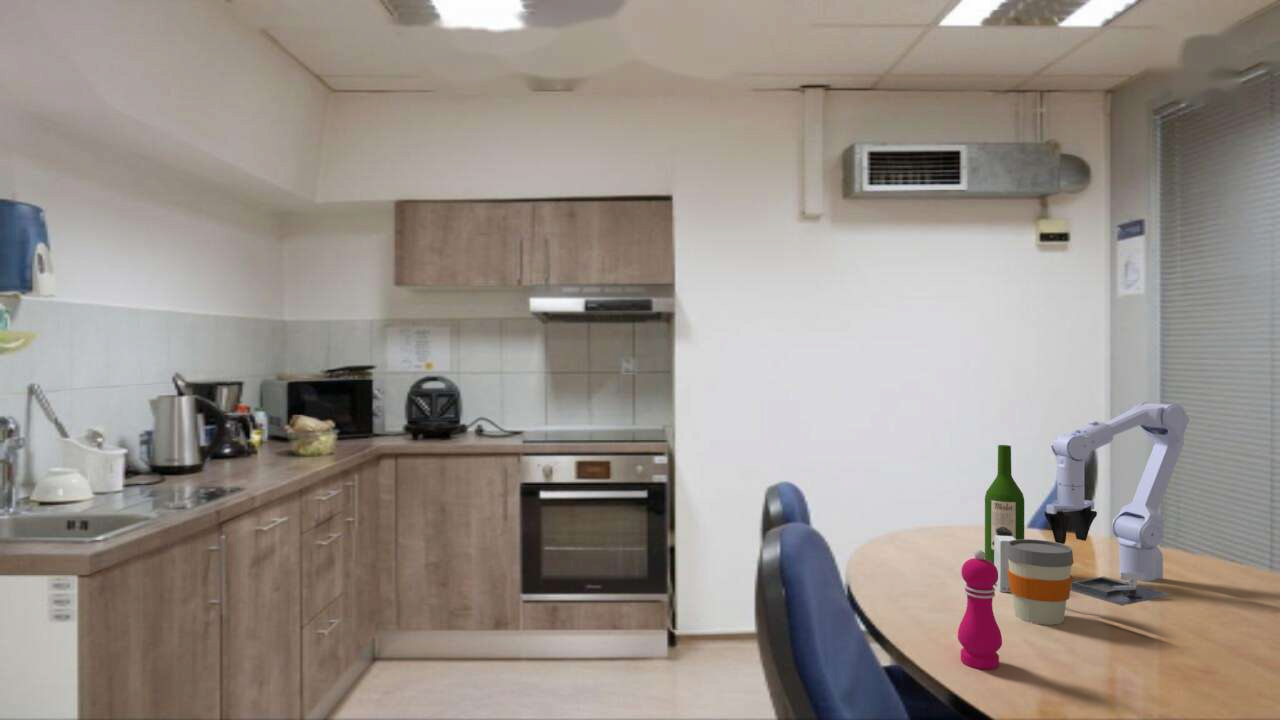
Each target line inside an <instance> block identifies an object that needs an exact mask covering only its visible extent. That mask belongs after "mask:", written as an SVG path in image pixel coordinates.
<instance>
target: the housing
mask: <svg viewBox="0 0 1280 720" xmlns="http://www.w3.org/2000/svg"><path fill="white" fill-rule="evenodd" d="M1122 585H1129V582H1127V581H1124V580H1123V581H1122V580H1118V579H1115V578H1111V577H1108V576H1098V577H1093V578H1087V579H1082V580H1076V581H1072V582H1071V589H1070V592H1074V593H1077V594H1081V595H1084V596H1087V597H1091V598H1094V599H1098V600H1100V601H1101V600H1102V601H1105V602H1108V603H1110V604H1114V605H1118V606H1126V605H1131V604H1137V603H1140V602H1146V601H1150V600H1157V599H1161V598H1166V597H1170V596H1173V594H1172V593H1168V592H1165V591H1161V590H1157V589H1153V588H1150V587H1145V586H1142V585H1138V584H1137V594H1130V593H1129V590H1115V589H1112V586H1122Z"/></svg>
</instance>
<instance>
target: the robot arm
mask: <svg viewBox="0 0 1280 720" xmlns="http://www.w3.org/2000/svg"><path fill="white" fill-rule="evenodd" d="M1189 422H1190V418H1189V416H1188V414H1187V412H1186V410H1185V409H1184V407H1183V406H1181V405H1180V404H1179V403H1178V404H1177V403H1170V404H1169V403H1168V404H1167V403H1155V402H1149V401H1143V402H1141V403H1139V404H1136V405H1133V406H1132V408H1131V409H1129V410H1127V411H1125V412H1124V413H1121V414H1119V415H1118V416H1115V417H1114V418H1112V419H1110V420H1108V421H1105V422H1103V421H1101V420H1098V421H1096V420H1091V421H1088V423H1087V424H1088V425H1086V426H1083V427H1081V428H1079V429H1077V428H1074V429H1073V430H1072V431H1071V433H1069V434H1067V433H1062V434H1059V435H1058V436H1056V437H1055V439H1054V441H1053V442H1052V444H1051V445H1050V447H1051V451H1052V453H1053V455H1054V456H1055V462H1056V473H1057V475H1056V479H1057V480H1056V499H1055V500H1053V502H1051V503H1048V504H1046V511H1044V517H1045V518H1046V521H1047V522H1048V523H1049V525H1050V529H1051V531H1052V536H1053V539H1054V542H1055V543H1060V544H1063V545H1065V544H1066V540H1067V530H1068V526H1069V522H1070V520H1071V519H1072V518H1073V525H1074V533H1075V539H1076V540H1080V541H1083V542H1085V541H1087V539H1088V535H1089V531H1090V529H1091V526H1092V523H1093V522H1094V520H1095V518H1096V517H1097V516H1098V512H1097V511H1096V510H1095V501H1094V500H1088V499H1085V460H1086V459H1087V458H1088V457H1089V456H1090V454H1091V452H1092V451H1094V450H1098V449H1099V448H1101V447H1103V446H1106V445H1108V444H1110V443H1111V442H1112V441H1113V440H1114V436H1116V435H1118V434H1121V433H1124V432H1126V431H1128V430H1129V431H1130V430H1131V429H1134V428H1137V427H1140V428H1141V429H1142V430H1143V431H1144V432H1145V434H1147V436H1148V437H1150V438H1151V440H1152V441H1153V443H1154V444H1153V448H1152V450H1151V452H1150V455H1149V457H1148V461H1147V463H1146V466H1145V468H1144V470H1143V473H1142V476H1141V477H1140V481H1139V484H1138V486H1137V489H1136V491H1135V494H1134V497H1133V499H1132V501H1131V502H1130V503H1128V504H1126V505H1124V506H1122V507H1121V508H1120V510H1119V512H1118V514H1117V515H1116V516H1114V518H1113V520H1112V522H1111V532H1112V534H1113V535H1114V536H1115V538H1116V540H1117V541H1116V542H1117V543H1118V575H1119V577H1121V573H1124V572H1143V573H1145V580H1137V582H1153V581H1155V580H1157V579H1161V580H1164V557H1163V553H1162V550H1161V549H1160V548H1159V547H1158V545H1159V544H1160V543H1161V542H1162V539H1163V537H1164V536H1163V534H1164V533H1163V528H1164V524H1165V520H1164V517H1162V515H1161V514H1160V512H1159V509H1160V507H1161V504H1162V501H1163V499H1164V496H1165V493H1166V491H1167V488H1168V485H1169V484H1170V481H1171V479H1172V475H1173V474H1174V470H1175V468H1176V465H1177V463H1178V460H1179V458H1180V454H1181V452H1182V450H1183V448H1184V447H1183V446H1184V443H1185V433H1186V429H1187V428H1188V425H1189ZM1066 512H1070V513H1071V515H1072V516H1071V515H1066V514H1065V513H1066Z"/></svg>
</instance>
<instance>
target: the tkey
mask: <svg viewBox="0 0 1280 720" xmlns="http://www.w3.org/2000/svg"><path fill="white" fill-rule="evenodd" d="M1120 579H1121V581H1122V580H1123V581H1129V582H1128V583H1129V585H1122V586H1112V589H1115V590H1129V593H1130V594H1137V585H1138V583H1137V582H1138V581H1137V580H1145V573H1143V572H1124V573H1121V576H1120Z"/></svg>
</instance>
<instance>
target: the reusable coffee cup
mask: <svg viewBox="0 0 1280 720" xmlns="http://www.w3.org/2000/svg"><path fill="white" fill-rule="evenodd" d="M1006 557H1007V558H1008V563H1009V568H1008V569H1007V572H1008V579H1009V587H1010V591H1011V592H1010V593H1011V594H1012V599H1013V607H1014V608H1013V609H1014V615H1015V617H1016V618H1017V617H1018V619H1019V618H1020V620H1021V619H1022V621H1024V622H1026V621H1028V622H1027V623H1030V622H1032V624H1035V623H1037V624H1036V625H1041V624H1047V625H1046V626H1054V625H1053V624H1058V625H1061V624H1060V623H1062V622H1065V621H1064V619H1065V612H1066V605H1067V601H1068V600H1069V599H1070V596H1071V591H1070V589H1071V582H1073V576H1072V575H1071V572H1072V566H1073V565H1074V563H1075V562H1074V554H1073V549H1072V547H1070V546H1068V545H1065V544H1061V543H1057V542H1055V541H1049V540H1043V539H1030V538H1029V539H1028V538H1024V539H1018V540H1011V541H1008V543H1007V550H1006ZM1062 624H1063V623H1062Z"/></svg>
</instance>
